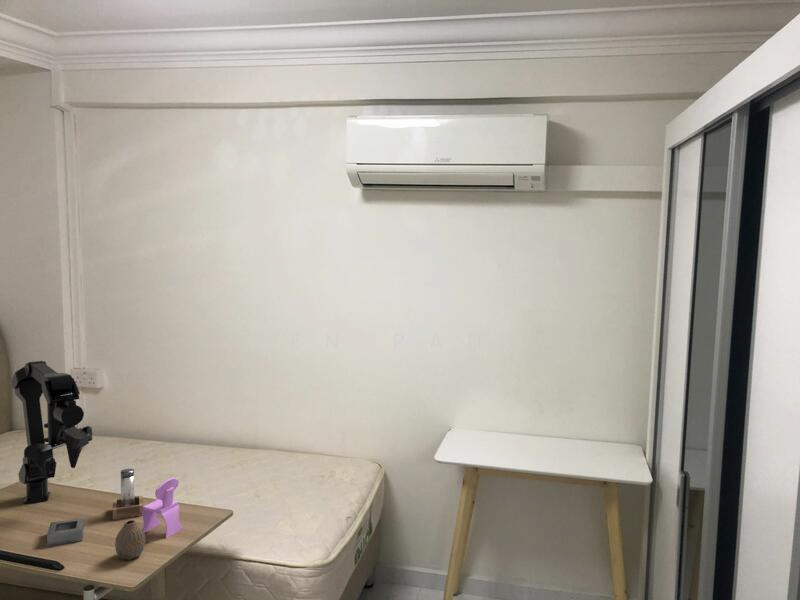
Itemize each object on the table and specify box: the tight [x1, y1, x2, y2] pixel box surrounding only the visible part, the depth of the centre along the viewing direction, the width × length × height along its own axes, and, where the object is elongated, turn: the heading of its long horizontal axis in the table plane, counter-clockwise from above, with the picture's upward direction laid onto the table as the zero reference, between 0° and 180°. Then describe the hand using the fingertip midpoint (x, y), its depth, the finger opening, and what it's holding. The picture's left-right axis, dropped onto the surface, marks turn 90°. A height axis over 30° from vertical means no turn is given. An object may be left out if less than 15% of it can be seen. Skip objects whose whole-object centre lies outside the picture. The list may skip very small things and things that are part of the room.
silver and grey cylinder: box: [120, 468, 135, 507], centre depth 175 cm, size 4×4×12 cm
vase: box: [114, 519, 146, 561], centre depth 149 cm, size 7×7×9 cm
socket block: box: [46, 517, 85, 547], centre depth 159 cm, size 8×8×3 cm
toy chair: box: [142, 477, 184, 539], centre depth 164 cm, size 8×9×15 cm
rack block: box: [112, 495, 144, 521], centre depth 175 cm, size 8×8×3 cm
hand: (60, 473), depth 171 cm, fingers open, 9 cm apart
